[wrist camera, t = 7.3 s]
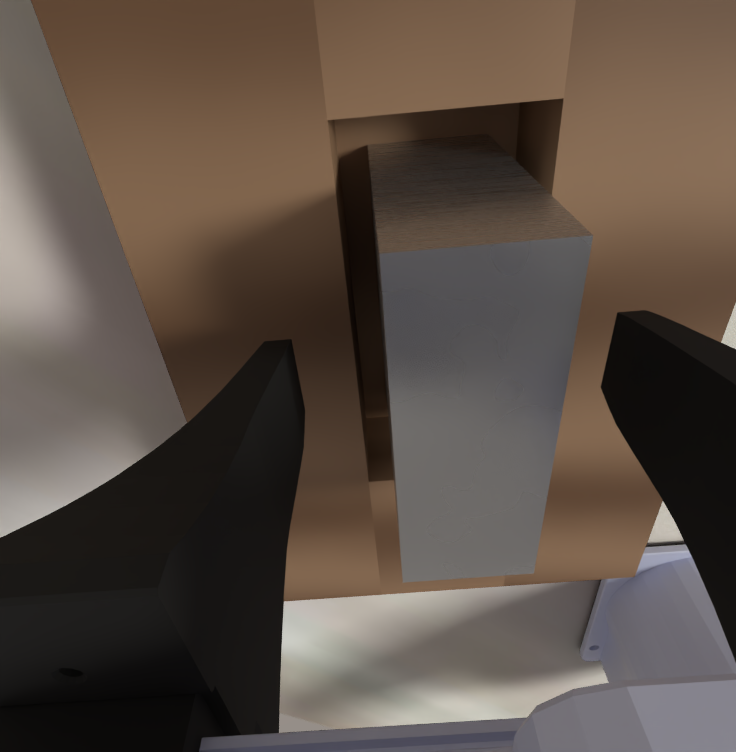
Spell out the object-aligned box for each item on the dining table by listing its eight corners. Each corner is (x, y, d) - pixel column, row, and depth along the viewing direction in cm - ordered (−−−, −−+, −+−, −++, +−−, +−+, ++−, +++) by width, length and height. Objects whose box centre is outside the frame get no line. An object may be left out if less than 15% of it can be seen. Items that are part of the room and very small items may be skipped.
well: (597, 502, 22) (634, 577, 19) (266, 526, 22) (253, 603, 19) (818, -341, 9) (1029, -497, 6) (33, -252, 10) (-104, -362, 7)
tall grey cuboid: (474, 389, 18) (533, 573, 12) (386, 396, 18) (402, 582, 12) (487, 133, 13) (593, 235, 7) (367, 144, 13) (379, 253, 7)
